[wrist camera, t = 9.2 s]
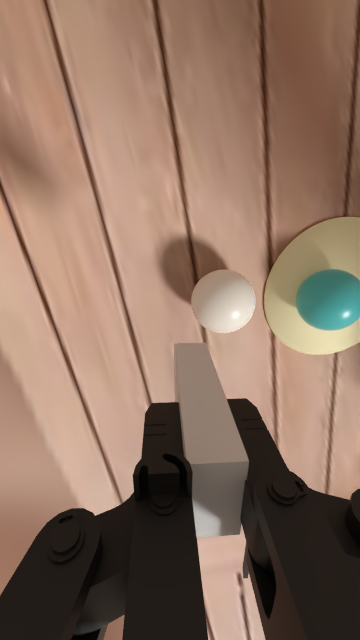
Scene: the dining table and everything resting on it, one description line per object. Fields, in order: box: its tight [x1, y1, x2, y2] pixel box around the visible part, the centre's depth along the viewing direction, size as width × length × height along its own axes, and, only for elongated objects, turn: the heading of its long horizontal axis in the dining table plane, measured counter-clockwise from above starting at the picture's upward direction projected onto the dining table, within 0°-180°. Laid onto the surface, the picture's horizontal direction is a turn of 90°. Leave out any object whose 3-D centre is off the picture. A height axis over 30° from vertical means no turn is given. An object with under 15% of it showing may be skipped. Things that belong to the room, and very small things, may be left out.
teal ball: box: [296, 269, 360, 331], centre depth 23 cm, size 6×6×6 cm
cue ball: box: [191, 270, 256, 333], centre depth 23 cm, size 6×6×6 cm
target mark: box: [264, 217, 360, 355], centre depth 26 cm, size 14×14×1 cm
